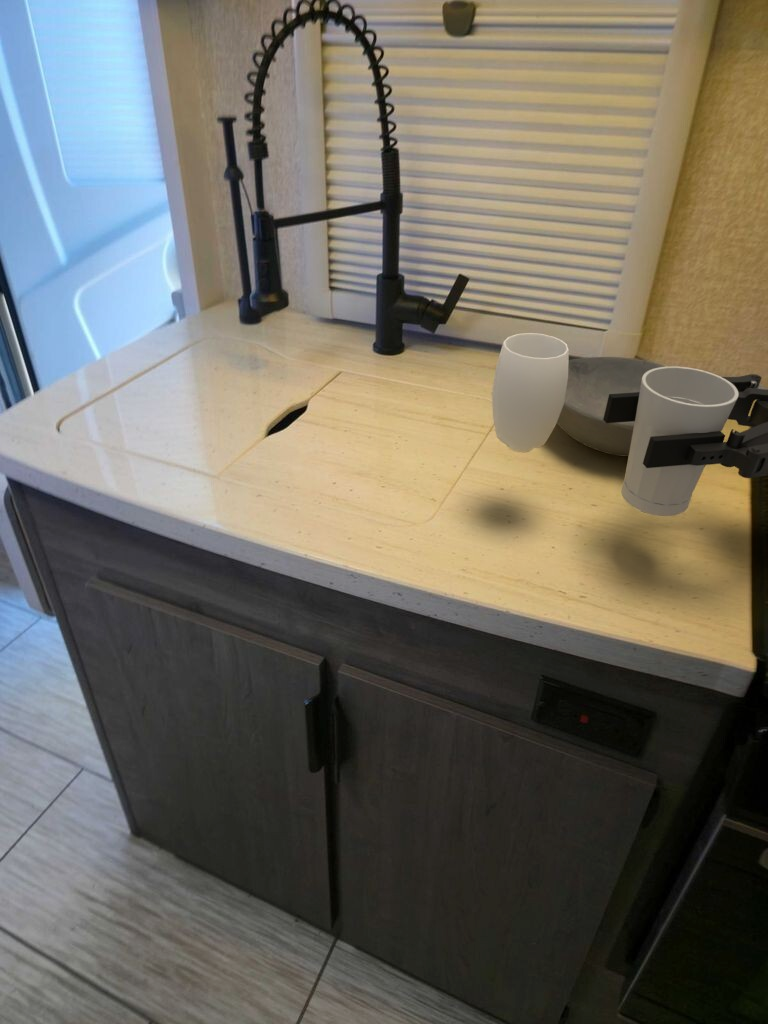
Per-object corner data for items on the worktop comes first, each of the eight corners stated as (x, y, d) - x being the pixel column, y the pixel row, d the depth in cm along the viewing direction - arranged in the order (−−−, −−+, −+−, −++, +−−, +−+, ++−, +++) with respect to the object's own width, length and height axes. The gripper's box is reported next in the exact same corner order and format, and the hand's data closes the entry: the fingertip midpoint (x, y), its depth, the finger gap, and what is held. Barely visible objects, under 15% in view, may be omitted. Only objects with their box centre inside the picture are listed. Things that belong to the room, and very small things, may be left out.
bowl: (516, 458, 86) (524, 402, 81) (552, 391, 101) (561, 341, 97) (688, 499, 79) (709, 441, 75) (700, 421, 95) (718, 369, 90)
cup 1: (471, 499, 79) (490, 331, 66) (530, 496, 79) (560, 329, 67) (484, 538, 73) (508, 362, 60) (548, 534, 74) (585, 359, 61)
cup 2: (608, 509, 64) (638, 395, 56) (617, 468, 70) (645, 360, 62) (696, 529, 61) (739, 413, 54) (698, 485, 67) (737, 375, 60)
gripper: (917, 506, 57) (673, 530, 54) (770, 399, 73) (574, 413, 70) (963, 430, 53) (700, 452, 50) (796, 334, 69) (589, 346, 66)
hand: (627, 429), depth 60 cm, fingers closed on cup 2, 7 cm apart
